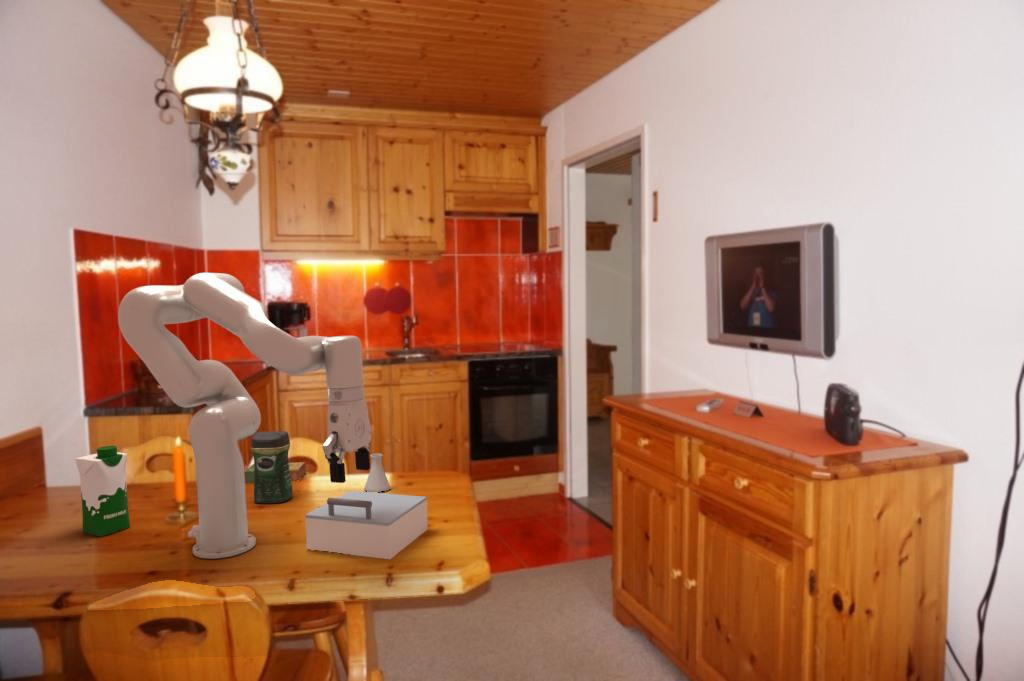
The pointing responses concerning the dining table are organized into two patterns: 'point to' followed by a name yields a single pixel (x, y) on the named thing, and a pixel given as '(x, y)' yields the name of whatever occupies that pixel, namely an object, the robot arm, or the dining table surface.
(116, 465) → the milk carton
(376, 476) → the flask
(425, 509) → the box body
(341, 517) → the lid flap
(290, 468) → the carton
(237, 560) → the dining table surface
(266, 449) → the coffee jar
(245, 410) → the robot arm
